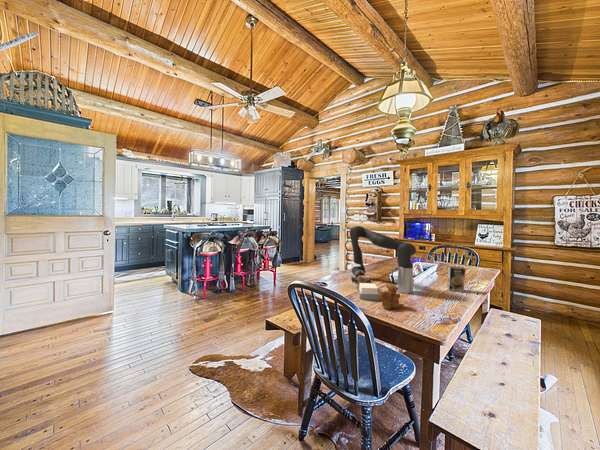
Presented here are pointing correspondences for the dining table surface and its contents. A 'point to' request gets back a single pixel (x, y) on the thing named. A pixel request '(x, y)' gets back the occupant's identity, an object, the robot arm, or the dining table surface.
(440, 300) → the dining table surface
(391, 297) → the brown fuzzy figure
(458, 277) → the coffee box
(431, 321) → the dining table surface
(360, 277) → the walnut block
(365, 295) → the tower bottom
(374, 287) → the tower top
